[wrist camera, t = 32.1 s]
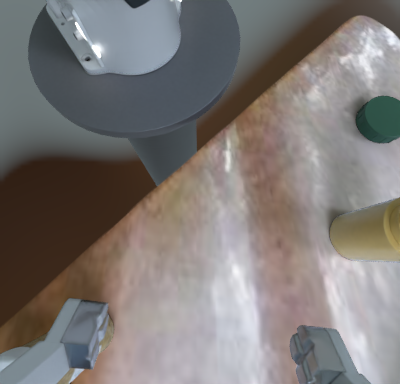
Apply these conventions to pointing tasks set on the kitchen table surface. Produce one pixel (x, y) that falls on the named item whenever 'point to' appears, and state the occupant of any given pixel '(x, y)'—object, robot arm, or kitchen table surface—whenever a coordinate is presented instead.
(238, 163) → the kitchen table surface
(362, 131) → the jar lid
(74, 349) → the robot arm
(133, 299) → the kitchen table surface
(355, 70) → the kitchen table surface
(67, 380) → the sprinkles bottle
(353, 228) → the jam jar
